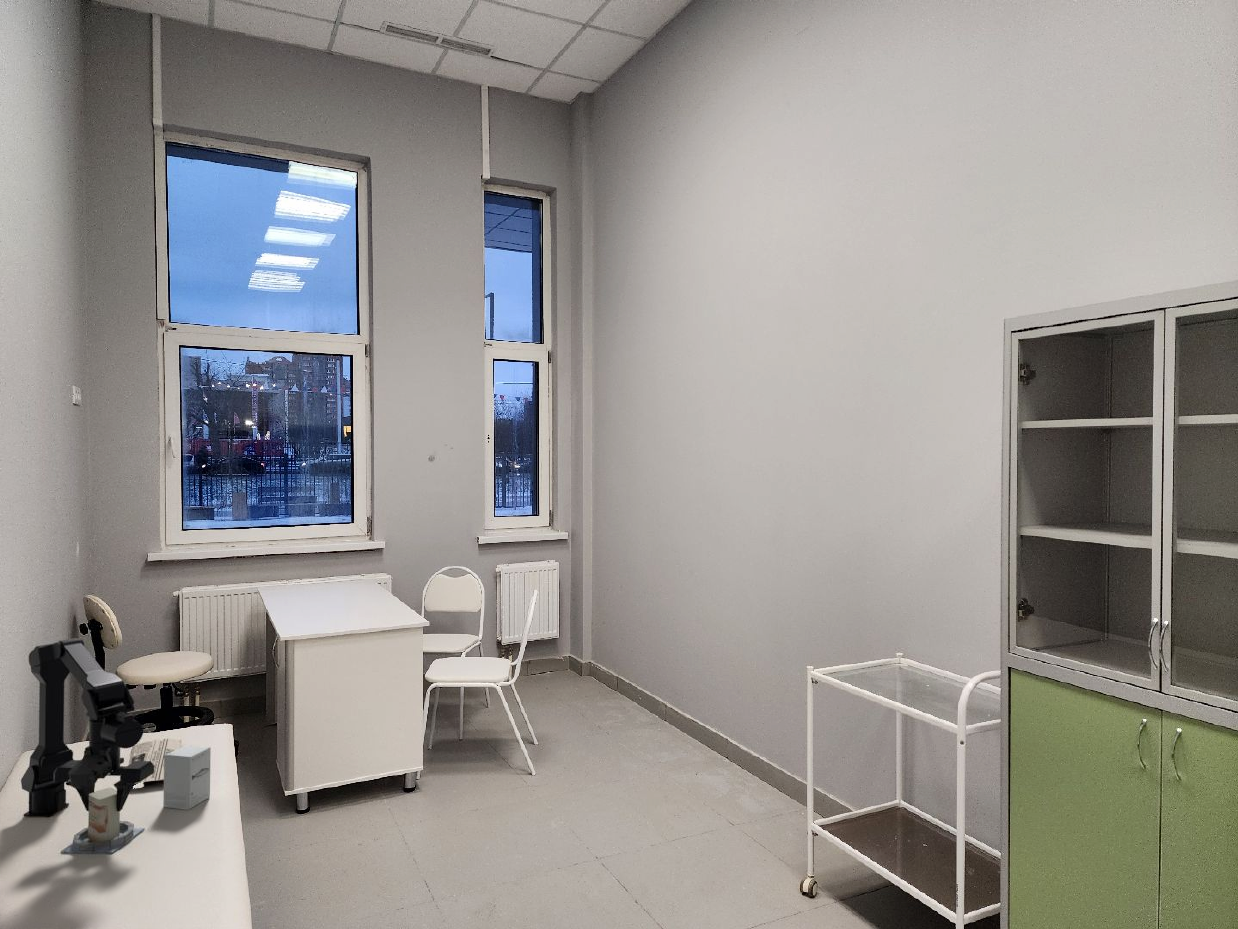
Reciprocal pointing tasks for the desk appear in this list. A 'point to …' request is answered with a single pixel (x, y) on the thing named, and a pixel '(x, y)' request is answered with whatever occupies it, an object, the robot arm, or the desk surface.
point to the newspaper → (154, 755)
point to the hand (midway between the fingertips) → (104, 810)
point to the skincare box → (103, 815)
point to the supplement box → (186, 777)
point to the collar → (103, 847)
